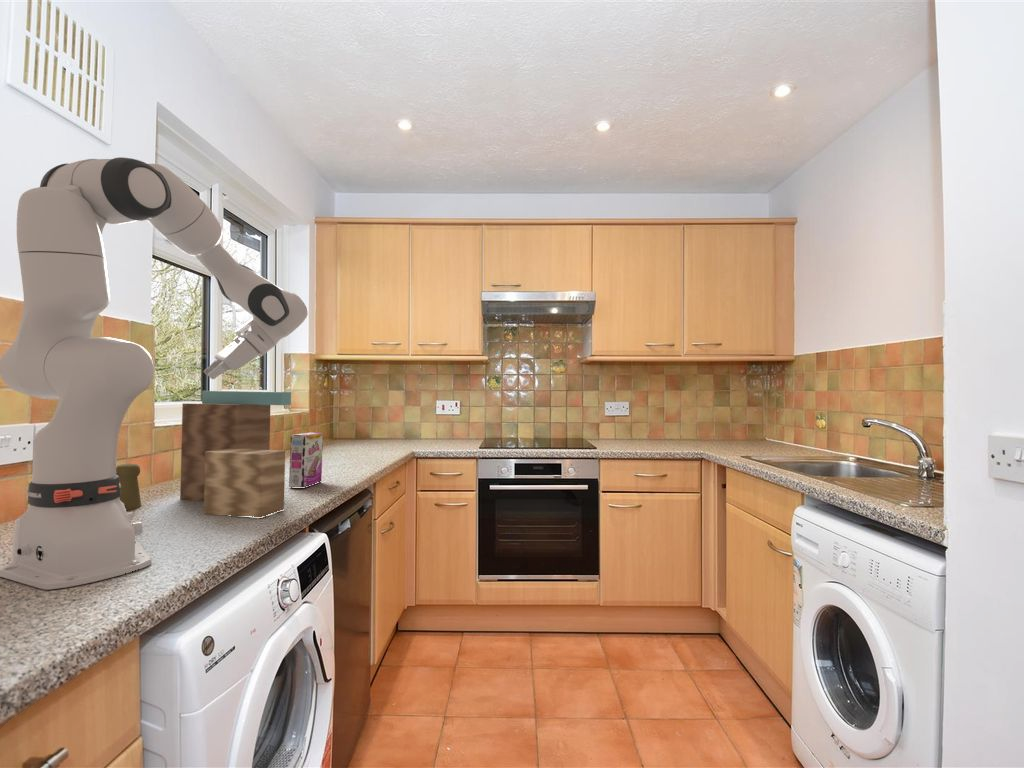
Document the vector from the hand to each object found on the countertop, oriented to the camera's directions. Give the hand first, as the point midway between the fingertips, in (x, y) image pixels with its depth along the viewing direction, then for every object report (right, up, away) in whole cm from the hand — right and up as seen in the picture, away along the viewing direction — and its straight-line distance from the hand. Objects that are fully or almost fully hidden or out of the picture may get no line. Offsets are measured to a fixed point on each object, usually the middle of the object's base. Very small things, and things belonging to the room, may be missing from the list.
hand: (207, 375), depth 124 cm
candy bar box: (+12, -34, +31) cm, 48 cm away
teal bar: (+3, -8, +12) cm, 15 cm away
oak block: (+11, -34, -4) cm, 36 cm away
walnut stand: (-3, -34, +13) cm, 36 cm away
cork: (-20, -33, -1) cm, 39 cm away
